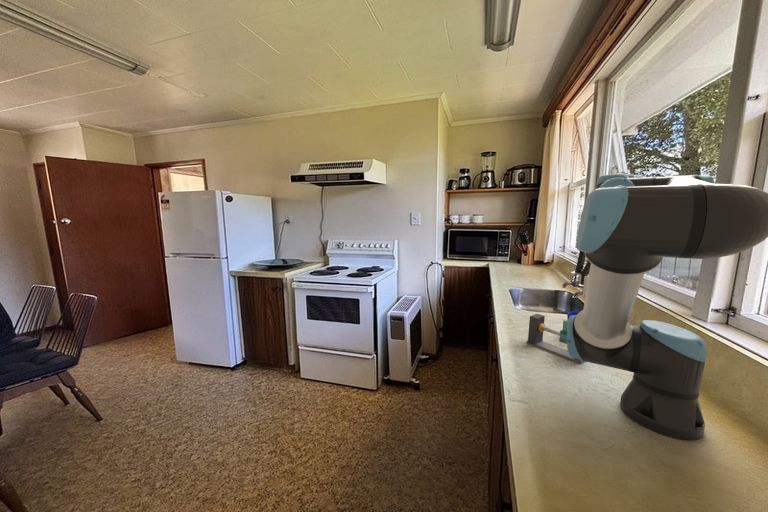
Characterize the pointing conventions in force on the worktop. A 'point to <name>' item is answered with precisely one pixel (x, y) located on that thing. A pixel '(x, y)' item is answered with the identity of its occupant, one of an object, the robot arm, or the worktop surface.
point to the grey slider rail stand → (537, 337)
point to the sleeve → (564, 332)
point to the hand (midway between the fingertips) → (598, 297)
